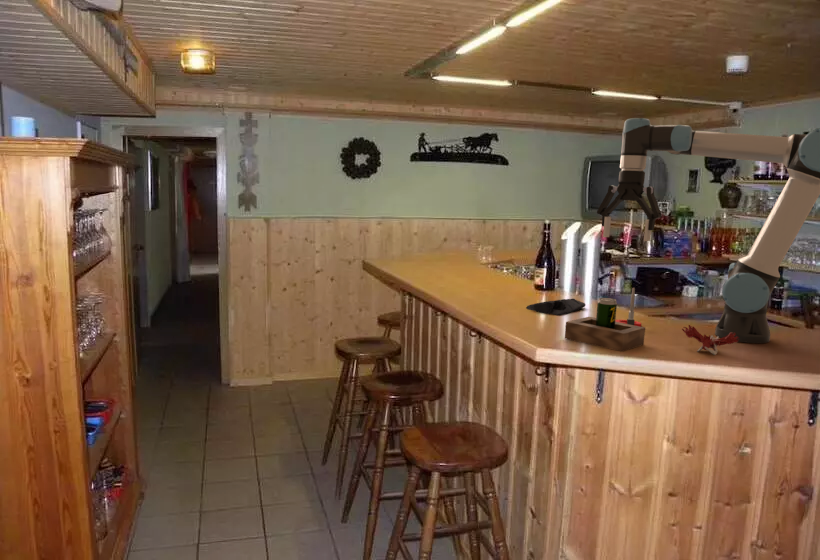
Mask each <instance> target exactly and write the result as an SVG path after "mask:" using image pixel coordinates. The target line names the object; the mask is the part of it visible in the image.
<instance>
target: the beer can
mask: <svg viewBox="0 0 820 560" xmlns="http://www.w3.org/2000/svg"><path fill="white" fill-rule="evenodd" d="M617 308H618V303H617V299H614V298H608V297H599V298H598V301H597V306H596V317H595V318H596V326H601V327H606V328H610V329H615V320H617Z"/></svg>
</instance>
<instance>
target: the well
mask: <svg viewBox="0 0 820 560" xmlns="http://www.w3.org/2000/svg"><path fill="white" fill-rule="evenodd" d="M564 329H565V330H564V331H565V332H564V339H565V338H567V339H566V340H570V339H571V341H574V340H575V342H579V343H583V344H588V345H591V346H597V347H600V348H605V349H611V350H615V351H619V352H625V351H628V350H631V349H634V348H637V347H640V346H643V345H645V336H646V335H645V334H646V327H643V326H641V327H640V326H634V325H629V324H624V323H619V322H615V329H610V328H606V327H601V326H596V317H592V316H586V317H581V318H577V319H573V320H568V321H565V328H564Z"/></svg>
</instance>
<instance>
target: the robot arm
mask: <svg viewBox="0 0 820 560" xmlns="http://www.w3.org/2000/svg"><path fill="white" fill-rule="evenodd" d="M621 135H622V137H621V138H622V139H621V140H622V141H621V154H620V162H619V163H620V164H619V168H620V169H621V170H619V173H618V174H619V175H618V185H617V186H616V185H613V184H612V185H611V184H610V185H608V187H607V193H606V195H605V196H604V198H603V200H602V202H601V203H600V205H599V207H598V209H597V211H596V213H597V215H600V216H601V227H603V232H602V238H610V234H611V233H610V232H611V221H612V216H611V215H610V214H612V213H613V211H614V210H615V209H616V208H617V207H618V206H619V205H620V204H621V203H622V202H623V201H628V202H629V201H630V202H631V201H632V202H634V201H635V202H637V204H638V205H639V206H640V208H641V210H642V211H643V213H644V214H645V216H646V218H647V219H645V226H644V235H643V242H651V236H652V231H654V230H655V224H656V223H655V222H656V220H657V219H661V218H663V217H662V216H663V214H662V212H661V209H660V206H659V204H658V201H657V199H656V197H655V188H654V187H653V186H647V187H644V186H645V185H644V184H645V178H646V172H645V171H644V170H646V165H647V158H648V157H647V156H648V151H649V152H655V151H657V152H667V153H669V154H671V155H676V156H677V155H684V156H698V157H707V158H719V159H732V160H741V161H753V162H763V163H776V164H783V166H784V167H785V168H787V169H786V171H787V173H788V180H787V181H786V183H785V185H784V187H783V188H782V190H781V192H780V194H779V196H778V198H777V199H776V201H775V203H774V205H773V207H772V208H771V211H770V212H769V214H768V216H767V218H766V220H765V221H764V224H763V225H762V227H761V229H760V230H759V233H758V234H757V237H756V238H755V240H754V242H753V244H752V246H751V247H750V249H749V251H748V253H747V254H746V255H745V256H743V257H739V258H738V259H737V261H736V262H732V263H730V264H729V268H728V270H727V279H726V280H725V281H724V283H723V284H722V289H721V295H722V298H723V300H724V307H723V308H724V310H723V312H722V314H721V316H720V318H719V320H718V322H717V324H716V327H715V332H714V335H716V337H717V336H718V337H719V338H723V337H726V336H727V335H728V334H729V333H730V332H733V333H732V334H734V332H735V334H736V335H735V336H734V337H739V338H738V339H739V340H738V339H737V340H738V342H739V343H740V342H741V343H749V344H765V343H767V344H768V343H769V342H770V340H771V331H770V330H771V329H770V326H769V322H768V318H767V314H768V313H767V312H768V304H769V300H770V296H771V293H772V292H773V291H774V288H775V287H776V284H777V283H778V281H779V280H780V278H781V275H780V272H779V267H780V265H781V264H782V262H783V260H784V259H785V256H786V255H787V253H788V251H789V249H790V248H791V246H792V244H793V243H794V240H795V239H796V237H797V236H798V234H799V232H800V230H801V228H802V226H803V225H804V223H805V221H807V220H806V219H807V217H808V216H809V214H810V213H811V211H812V209H813V207H814V205H815V204H816V203H817V202H816V201H817V200H818V198H819V196H820V127H817V128H816V129H815V128H814V129H813V130H811V131H809V132H808V133H807V134H801V133H800V134H797V133H793V134H791V135H789V136H777V135H775V136H774V135H761V134H750V133H749V134H748V133H747V134H745V133H733V132H732V133H730V132H717V131H703V130H693V129H692V126H691V125H685V124H674V125H673V124H667V125H653V124H651V121H650V119H649V118H643V117H641V118H640V117H632V118H627V119H626V120H625V121H624V124H623V129H622V134H621ZM616 192H617V193H618V194H617V196H616V197H614V195H615V193H616ZM643 194H646V196H647V200H648V202H649V205H648V203H647V202H646V200H645V197H644V196H643ZM613 197H614V200H613V201H612V199H613ZM611 201H612V202H611ZM610 202H611V203H610Z"/></svg>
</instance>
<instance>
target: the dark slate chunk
mask: <svg viewBox="0 0 820 560" xmlns="http://www.w3.org/2000/svg"><path fill="white" fill-rule="evenodd" d="M585 307H586V303H585V302H582V301H580V300H578V299H575V298H567V299H564V298H563V299H556V300H547V301H542V302H538V303H537V302H536V303H532V304H529V305H527V306H526V307H525V308H526V309H527V310H528V311H533V312H537V313H541V314H546V315H555V316H562V315H567V314H571V313H572V312H574V313H575V312H577V311H580V310H581V309H583V308H585Z"/></svg>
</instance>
